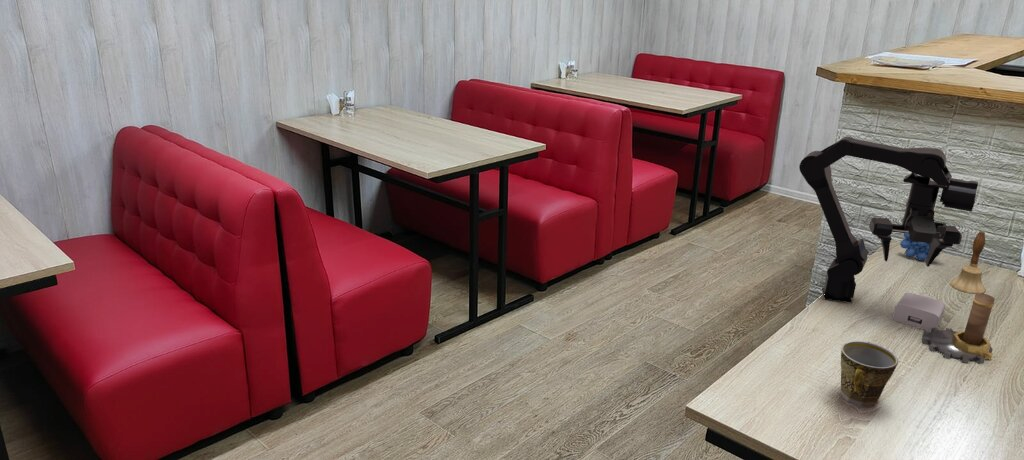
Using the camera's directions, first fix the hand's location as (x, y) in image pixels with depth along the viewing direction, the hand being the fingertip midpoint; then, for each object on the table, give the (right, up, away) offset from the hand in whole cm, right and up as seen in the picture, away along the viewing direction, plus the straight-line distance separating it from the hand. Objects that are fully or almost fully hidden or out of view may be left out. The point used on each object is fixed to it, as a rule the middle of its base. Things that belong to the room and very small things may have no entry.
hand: (906, 263), depth 172 cm
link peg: (+7, -18, -13) cm, 23 cm away
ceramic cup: (-27, -26, -32) cm, 49 cm away
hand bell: (+27, -8, +19) cm, 34 cm away
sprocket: (+5, -18, -11) cm, 22 cm away
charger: (+5, -13, +3) cm, 15 cm away
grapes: (+24, -1, +36) cm, 43 cm away
